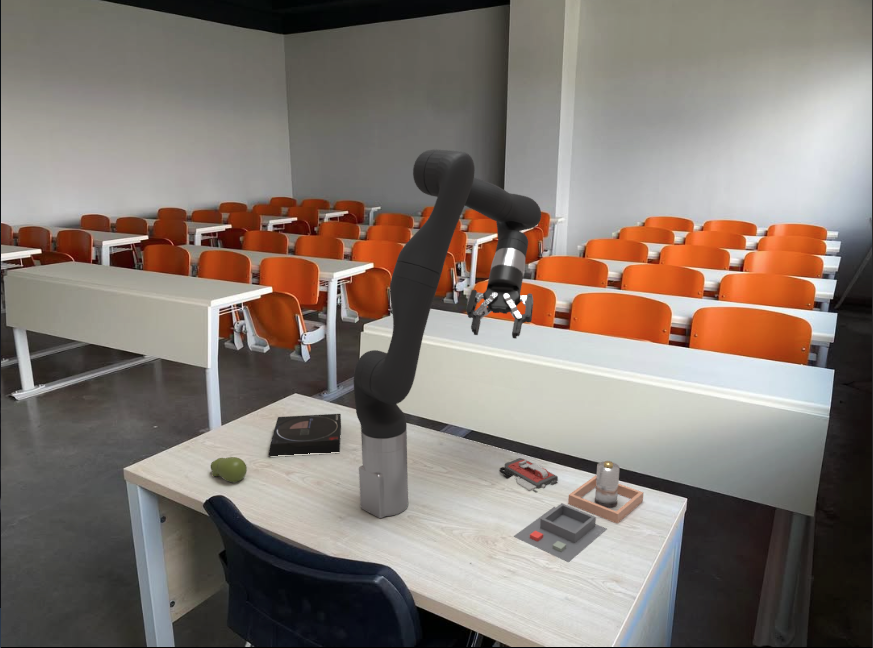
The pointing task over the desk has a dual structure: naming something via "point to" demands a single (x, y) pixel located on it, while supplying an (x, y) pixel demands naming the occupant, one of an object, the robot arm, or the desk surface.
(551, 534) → the checker plate
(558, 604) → the desk surface
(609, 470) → the cell
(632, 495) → the pot
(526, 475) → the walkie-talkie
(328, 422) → the portable cd player
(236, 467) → the pear
